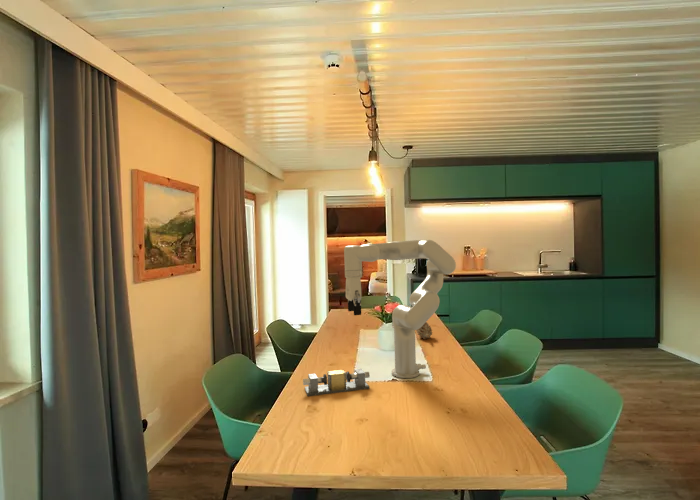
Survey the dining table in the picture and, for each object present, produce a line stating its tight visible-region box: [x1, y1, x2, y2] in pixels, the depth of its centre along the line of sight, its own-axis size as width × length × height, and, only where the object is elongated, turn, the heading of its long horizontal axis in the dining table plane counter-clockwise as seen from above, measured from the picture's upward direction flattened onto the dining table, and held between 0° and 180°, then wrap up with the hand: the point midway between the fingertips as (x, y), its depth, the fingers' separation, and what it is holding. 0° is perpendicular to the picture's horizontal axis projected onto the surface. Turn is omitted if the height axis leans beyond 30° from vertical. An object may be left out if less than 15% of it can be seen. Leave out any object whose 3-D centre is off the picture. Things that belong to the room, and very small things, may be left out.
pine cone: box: [415, 322, 433, 340], centre depth 244 cm, size 22×10×10 cm, turn 3°
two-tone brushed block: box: [326, 369, 347, 389], centre depth 168 cm, size 7×4×6 cm, turn 104°
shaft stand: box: [302, 368, 370, 397], centre depth 168 cm, size 28×8×7 cm, turn 104°
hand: (354, 313), depth 175 cm, fingers open, 9 cm apart
